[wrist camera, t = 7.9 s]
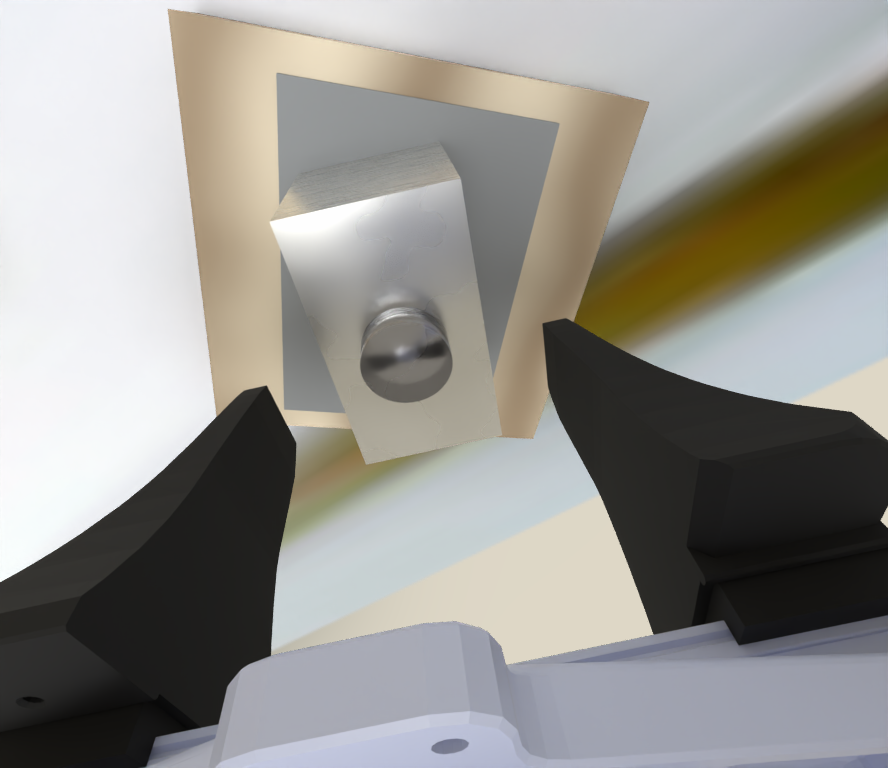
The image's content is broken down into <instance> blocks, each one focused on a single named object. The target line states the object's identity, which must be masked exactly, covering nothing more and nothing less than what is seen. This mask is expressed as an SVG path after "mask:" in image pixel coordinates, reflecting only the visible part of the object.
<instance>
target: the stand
mask: <svg viewBox="0 0 888 768" xmlns="http://www.w3.org/2000/svg"><path fill="white" fill-rule="evenodd" d="M168 15H169V23H170V31H171V40H172V48H173V56H174V65H175V73H176V81H177V90H178V98H179V106H180V115H181V123H182V131H183V140H184V148H185V156H186V165H187V173H188V181H189V190H190V198H191V206H192V215H193V223H194V231H195V240H196V248H197V256H198V265H199V273H200V281H201V290H202V298H203V306H204V315H205V323H206V331H207V340H208V348H209V356H210V365H211V373H212V381H213V390H214V398H215V406H216V415H217V416H218V415H219V414H220V413H221V412H222V411H223V410H224V409H225V408H226V407H227V406H228V405H229V404H230V403H231V402H232V401H233V400H234V399H235V398H236V397H237V396H238V395H239V394H240V393H242V392H243V391H244V390H248V389H253V388H257V387H261V386H266V385H267V387H268V389H269V391H270V393H271V394H272V396H273V398H274V400H275V402H276V404H277V406H278V408H279V410H280V412H281V414H282V416H283V418H284V420H285V422H286V424H287V425H292V426H310V427H329V428H347V429H352V428H351V425H350V423H349V420H348V418H347V415H346V412H345V410H344V407H343V405H342V402H341V400H340V397H339V395H338V392H337V390H336V387H335V385H334V382H333V380H332V377H331V375H330V372H329V370H328V367H327V365H326V362H325V360H324V357H323V355H322V352H321V350H320V347H319V345H318V342H317V340H316V337H315V335H314V332H313V330H312V327H311V325H310V322H309V320H308V317H307V315H306V312H305V310H304V307H303V305H302V302H301V300H300V297H299V295H298V292H297V290H296V287H295V285H294V282H293V280H292V277H291V275H290V272H289V270H288V267H287V265H286V262H285V260H284V257H283V255H282V252H281V250H280V247H279V245H278V242H277V240H276V237H275V235H274V232H273V230H272V227H271V225H270V220H271V218H272V217H273V215H274V213H275V212H276V210H277V208H278V207H279V205H280V204H281V202H282V200H283V199H284V197H285V195H286V194H287V192H288V190H289V189H290V187H291V185H292V184H293V182H294V180H295V179H296V177H297V175H298V174H299V173H303V172H307V171H312V170H316V169H320V168H325V167H329V166H333V165H338V164H342V163H346V162H351V161H355V160H359V159H364V158H368V157H372V156H377V155H381V154H385V153H390V152H394V151H398V150H403V149H407V148H411V147H416V146H420V145H424V144H429V143H433V142H437V141H439V142H440V144H441V145H442V147H443V149H444V150H445V152H446V154H447V156H448V157H449V159H450V161H451V162H452V164H453V166H454V168H455V169H456V171H457V173H458V175H459V176H460V178H461V183H462V190H463V196H464V202H465V208H466V214H467V221H468V227H469V233H470V239H471V245H472V252H473V258H474V264H475V270H476V276H477V283H478V289H479V295H480V301H481V307H482V314H483V320H484V326H485V332H486V338H487V345H488V351H489V357H490V363H491V369H492V376H493V382H494V388H495V394H496V400H497V407H498V413H499V419H500V425H501V431H502V435H501V436H496V437H509V438H527V439H533V437H534V435H535V432H536V429H537V426H538V423H539V420H540V417H541V414H542V411H543V408H544V406H545V403H546V400H547V397H548V394H549V389H548V382H547V371H546V360H545V349H544V337H543V326H542V323H546V322H550V321H555V320H559V319H564V318H567V319H569V320H571V321H572V322H574V319H575V316H576V313H577V310H578V307H579V304H580V301H581V299H582V296H583V293H584V290H585V287H586V284H587V281H588V278H589V275H590V272H591V270H592V267H593V264H594V261H595V258H596V255H597V252H598V249H599V246H600V244H601V241H602V238H603V235H604V232H605V229H606V226H607V223H608V220H609V218H610V215H611V212H612V209H613V206H614V203H615V200H616V197H617V194H618V191H619V189H620V186H621V183H622V180H623V177H624V174H625V171H626V168H627V165H628V163H629V160H630V157H631V154H632V151H633V148H634V145H635V142H636V139H637V137H638V134H639V131H640V128H641V125H642V122H643V119H644V116H645V113H646V110H647V108H648V105H649V102H646V101H642V100H638V99H634V98H629V97H625V96H621V95H616V94H611V93H606V92H601V91H596V90H591V89H585V88H580V87H575V86H570V85H565V84H560V83H554V82H549V81H544V80H539V79H534V78H529V77H523V76H518V75H513V74H508V73H503V72H498V71H493V70H487V69H482V68H477V67H472V66H467V65H462V64H456V63H451V62H446V61H441V60H436V59H431V58H425V57H420V56H415V55H410V54H405V53H400V52H395V51H389V50H384V49H379V48H374V47H369V46H364V45H358V44H353V43H348V42H343V41H338V40H333V39H327V38H322V37H317V36H312V35H307V34H302V33H297V32H291V31H286V30H281V29H276V28H271V27H266V26H260V25H255V24H250V23H245V22H240V21H235V20H229V19H224V18H219V17H214V16H209V15H204V14H199V13H192V12H185V11H178V10H171V9H168Z"/></svg>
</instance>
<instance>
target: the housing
mask: <svg viewBox="0 0 888 768" xmlns="http://www.w3.org/2000/svg"><path fill="white" fill-rule="evenodd" d="M270 225H271V227H272V230H273V232H274V235H275V237H276V240H277V242H278V245H279V247H280V250H281V252H282V255H283V257H284V260H285V262H286V265H287V267H288V270H289V272H290V275H291V277H292V280H293V282H294V285H295V287H296V290H297V292H298V295H299V297H300V300H301V302H302V305H303V307H304V310H305V312H306V315H307V317H308V320H309V322H310V325H311V327H312V330H313V332H314V335H315V337H316V340H317V342H318V345H319V347H320V350H321V352H322V355H323V357H324V360H325V362H326V365H327V367H328V370H329V372H330V375H331V377H332V380H333V382H334V385H335V387H336V390H337V392H338V395H339V397H340V400H341V402H342V405H343V407H344V410H345V412H346V415H347V418H348V420H349V423H350V425H351V428H352V430H353V433H354V435H355V438H356V440H357V443H358V445H359V448H360V450H361V453H362V455H363V458H364V460H365V463H366V464H371V463H376V462H380V461H385V460H390V459H394V458H399V457H404V456H408V455H413V454H417V453H422V452H427V451H431V450H436V449H441V448H445V447H450V446H454V445H459V444H464V443H468V442H473V441H478V440H482V439H487V438H491V437H496V436H501V435H502V431H501V425H500V419H499V413H498V407H497V400H496V394H495V388H494V382H493V376H492V369H491V363H490V357H489V351H488V345H487V338H486V332H485V326H484V320H483V314H482V307H481V301H480V295H479V289H478V283H477V276H476V270H475V264H474V258H473V252H472V245H471V239H470V233H469V227H468V221H467V214H466V208H465V202H464V196H463V190H462V183H461V178H460V176H459V175H458V173H457V171H456V169H455V168H454V166H453V164H452V162H451V161H450V159H449V157H448V156H447V154H446V152H445V150H444V149H443V147H442V145H441V144H440V142H439V141H437V142H433V143H429V144H424V145H420V146H416V147H411V148H407V149H403V150H398V151H394V152H390V153H385V154H381V155H377V156H372V157H368V158H364V159H359V160H355V161H351V162H346V163H342V164H338V165H333V166H329V167H325V168H320V169H316V170H312V171H307V172H303V173H299V174H298V175H297V177H296V179H295V180H294V182H293V184H292V185H291V187H290V189H289V190H288V192H287V194H286V195H285V197H284V199H283V200H282V202H281V204H280V205H279V207H278V208H277V210H276V212H275V213H274V215H273V217H272V218H271V220H270Z"/></svg>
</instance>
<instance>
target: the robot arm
mask: <svg viewBox="0 0 888 768" xmlns="http://www.w3.org/2000/svg"><path fill="white" fill-rule="evenodd" d="M542 326H543V337H544V349H545V360H546V371H547V382H548V389H549V392H550V394H551V397H552V400H553V403H554V405H555V408H556V411H557V413H558V416H559V418H560V420H561V422H562V424H563V426H564V428H565V430H566V432H567V434H568V435H569V437H570V439H571V441H572V443H573V445H574V447H575V448H576V450H577V452H578V454H579V456H580V458H581V459H582V461H583V463H584V465H585V467H586V469H587V470H588V472H589V474H590V476H591V478H592V480H593V481H594V483H595V485H596V487H597V489H598V492H599V494H600V496H601V498H602V500H603V502H604V505H605V507H606V510H607V512H608V514H609V517H610V520H611V522H612V524H613V527H614V530H615V532H616V535H617V537H618V540H619V542H620V545H621V547H622V550H623V552H624V555H625V558H626V560H627V562H628V565H629V568H630V571H631V573H632V576H633V579H634V582H635V584H636V587H637V590H638V592H639V595H640V598H641V601H642V603H643V606H644V609H645V612H646V614H647V617H648V620H649V623H650V626H651V629H652V632H653V634H654V635H650V636H645V637H640V638H636V639H631V640H626V641H621V642H616V643H611V644H606V645H601V646H597V647H592V648H587V649H582V650H577V651H573V652H568V653H563V654H558V655H553V656H549V657H543V658H538V659H534V660H529V661H524V662H519V663H514V664H509V665H506V663H505V659H504V656H503V652H502V648H501V646H500V645H499V644H498V643H497V641H496V640H495V639H494V638H493V637H492V636H491V635H490V634H489V633H488V632H487V631H485V630H484V629H482V628H479V627H475V626H471V625H468V624H464V623H460V622H456V621H453V622H438V623H423V624H418V625H413V626H408V627H404V628H399V629H394V630H389V631H384V632H380V633H375V634H370V635H365V636H360V637H356V638H351V639H346V640H341V641H337V642H332V643H327V644H322V645H317V646H313V647H308V648H304V649H298V650H294V651H289V652H284V653H279V654H275V655H272V656H271V640H272V623H273V607H274V595H275V584H276V572H277V564H278V558H279V552H280V547H281V542H282V537H283V532H284V528H285V523H286V518H287V513H288V508H289V504H290V499H291V493H292V488H293V483H294V478H295V465H296V442H295V440H294V438H293V436H292V434H291V432H290V430H289V428H288V426H287V424H286V422H285V420H284V418H283V416H282V414H281V412H280V410H279V408H278V406H277V404H276V402H275V400H274V398H273V396H272V394H271V393H270V391H269V389H268V387H267V385H266V386H261V387H257V388H253V389H248V390H244V391H243V392H242V393H240V394H239V395H238V396H237V397H236V398H235V399H234V400H233V401H232V402H231V403H230V404H229V405H228V406H227V407H226V408H225V409H224V410H223V411H222V412H221V413H220V414H219V415H218V416H217V417H216V418H215V419H214V420H213V421H212V422H211V423H210V424H209V425H208V426H207V427H206V429H205V430H204V431H203V432H202V433H201V434H200V435H199V436H198V437H197V438H196V439H195V440H194V441H193V442H192V443H191V444H190V445H189V446H188V447H187V448H186V449H185V450H184V451H183V452H181V453H180V454H179V455H178V456H177V457H176V458H175V459H174V460H173V461H172V462H171V463H170V464H169V465H168V466H167V467H166V468H165V469H164V470H163V471H162V472H160V473H159V474H158V475H157V476H156V477H155V478H154V479H152V480H151V481H150V482H149V483H148V484H147V485H145V486H144V487H143V488H142V489H141V490H139V491H138V492H137V493H136V494H134V495H133V496H132V497H131V498H129V499H128V500H127V501H126V502H124V503H123V504H122V505H120V506H119V507H118V508H116V509H115V510H114V511H112V512H111V513H109V514H108V515H107V516H105V517H104V518H102V519H101V520H100V521H98V522H97V523H95V524H94V525H93V526H91V527H90V528H88V529H87V530H86V531H84V532H83V533H81V534H80V535H78V536H77V537H75V538H74V539H72V540H71V541H69V542H68V543H66V544H64V545H63V546H61V547H60V548H58V549H57V550H55V551H53V552H52V553H50V554H48V555H47V556H45V557H44V558H42V559H40V560H39V561H37V562H35V563H34V564H32V565H30V566H29V567H27V568H25V569H23V570H22V571H20V572H18V573H17V574H15V575H13V576H11V577H9V578H7V579H5V580H4V581H2V582H0V768H888V528H887V527H886V526H885V525H884V524H883V523H882V522H881V521H880V520H881V518H882V516H883V514H884V512H885V510H886V508H887V507H888V440H887V439H885V438H884V437H883V436H881V435H880V434H879V433H878V432H877V431H875V430H874V429H873V428H872V427H870V426H869V425H868V424H866V423H865V422H864V421H863V420H861V419H860V418H859V417H858V416H856V415H855V414H854V413H852V412H847V411H840V410H832V409H825V408H817V407H809V406H802V405H794V404H788V403H783V402H778V401H773V400H768V399H762V398H757V397H753V396H748V395H744V394H740V393H736V392H732V391H728V390H725V389H721V388H717V387H714V386H710V385H706V384H703V383H700V382H697V381H694V380H691V379H688V378H685V377H683V376H680V375H677V374H674V373H672V372H669V371H666V370H664V369H661V368H659V367H657V366H654V365H652V364H650V363H648V362H646V361H643V360H641V359H639V358H637V357H635V356H633V355H631V354H629V353H627V352H625V351H623V350H621V349H619V348H617V347H615V346H614V345H612V344H610V343H608V342H606V341H605V340H603V339H601V338H599V337H598V336H596V335H594V334H593V333H591V332H589V331H588V330H586V329H584V328H583V327H581V326H579V325H578V324H576V323H574V322H572V321H571V320H569V319H567V318H564V319H559V320H555V321H550V322H546V323H542Z"/></svg>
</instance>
